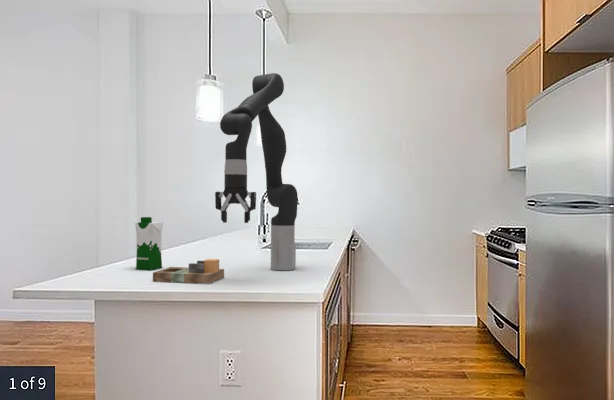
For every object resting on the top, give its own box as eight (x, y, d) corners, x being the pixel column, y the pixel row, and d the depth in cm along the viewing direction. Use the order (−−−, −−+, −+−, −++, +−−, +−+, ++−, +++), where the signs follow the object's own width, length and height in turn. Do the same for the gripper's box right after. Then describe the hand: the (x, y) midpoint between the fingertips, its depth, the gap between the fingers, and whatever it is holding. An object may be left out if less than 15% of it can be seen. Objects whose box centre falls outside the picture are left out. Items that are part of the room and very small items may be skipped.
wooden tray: (224, 277, 196) (224, 260, 196) (209, 284, 182) (209, 265, 182) (171, 275, 200) (171, 258, 200) (152, 281, 186) (152, 263, 186)
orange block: (219, 271, 191) (219, 259, 191) (215, 272, 187) (215, 260, 187) (208, 270, 192) (208, 258, 192) (203, 272, 188) (203, 260, 188)
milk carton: (132, 269, 213) (132, 217, 212) (146, 266, 221) (146, 216, 221) (152, 271, 210) (152, 217, 209) (165, 267, 218) (165, 216, 218)
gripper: (259, 173, 189) (259, 222, 190) (219, 173, 192) (219, 221, 193) (253, 173, 182) (252, 223, 182) (211, 173, 185) (211, 222, 185)
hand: (235, 222), depth 188 cm, fingers open, 7 cm apart
